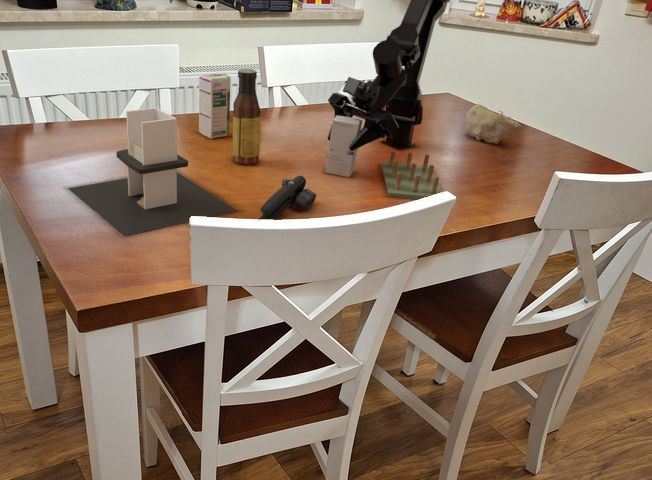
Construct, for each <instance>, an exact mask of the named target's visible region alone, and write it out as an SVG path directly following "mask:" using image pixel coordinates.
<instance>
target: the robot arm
mask: <svg viewBox="0 0 652 480" xmlns="http://www.w3.org/2000/svg"><path fill="white" fill-rule="evenodd" d="M450 2H451V0H410V2H409V4H408V7H407V9H406V11H405V13H404V15H403V18H402V20H401V23H400V24H399V26H397V27H395V28H394V29H392V30H391V32H390V34H389V35H387V37H386V39H385V40H381V41H379V42H378V43H377V44H376V45H375V46H374V47H373V49H372V58H373V64H374V70H375V75H376V76H375V78H374V79H373V80H370V79H369V80H367V81H366V82H364V81H362V80H361V79H358V78H354V77H351V76H348V77H347V80H346V82H345V84H344V86H343V89H342V92H343V93H347V94H349V95H350V96H351V100H350V98H349V97H348V96H347V95H345V94H342V93H339V92H333V93H332V94H331V95H330V96H329V98H328V99H327V102H328V103H329V105H330V106H331V108H332V109H333V110H334V115H333V116H334V117H333V119H334V118H335V117H336V116H337V115H339V116H344V117H351V118H354V117H357V118H359V119H361V120H364V122H363V127H361V131H360V132H359V134H358V135H357V136H356V138H355V139H354V140H353V142H352V143H351V145H350V147H349V149H350V151H353V150H355V149H357V150H358V149H360V148H361V147H363V146H366V145H368V144H369V143H372V142H374V141H377V140H379V139H381V142H382V144H385V145H388V146H390V147H392V148H394V149H398V150H402V149H407V148H413V147H416V144H415V143H414V142H412V141H413V135H414V130H415V126H418V125H419V126H420V125H422V122H423V115H424V107H423V101H422V97H423V93H422V90H421V86H420V80H421V76H422V73H423V69H424V66H425V62H426V58H427V54H428V51H429V47H430V43H431V40H432V36H433V32H434V28H435V25H436V22H437V20H439V18H440V17H441V16H442V15H443V14H444V13H445V12H446V9H447V5H448V3H450ZM351 101H352V102H353V103H355V104H353V103H352V102H351ZM384 109H385V110H384ZM331 130H332V125H331V127H330V130H329V132H328V135H327V140H328V142H330V137H331Z"/></svg>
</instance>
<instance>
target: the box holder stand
mask: <svg viewBox="0 0 652 480" xmlns="http://www.w3.org/2000/svg"><path fill="white" fill-rule="evenodd" d="M125 117H126V134H127V135H126V137H127V149H121V150H117V151H116V158H117V159H119V161H121V162H122V163H123V164H124V165H125V166H126V168H127V169H126V170H127V177H125V178H119V179H112V180H107V181H101V182H97V183H95V182H94V183H90V184H84V185H78V186H72V187H67V189H68V190H69V191H70V192H71V193H73V194H74V195H76V196H77V198H79V199H80V200H81V201H82V202H84V203H85V204H86V205H87V206H89V207H90V208H91V209H92V210H93V211H95V212H96V213H97V214H98V215H99V216H100V217H102V218H103V219H104V220H105V221H106V222H107V223H109V224H110V226H112V227H114V229H116V230H117V231H118V232H120V233H121V234H122V235H123V236H125V237H127V236H131V235H132V236H133V235H137V234H140V233H145V232H149V231H154V230H158V229H163V228H168V227H173V226H176V225H177V226H178V225H181V224H185V223H190V222H189V218H190V217H191V216H207V217H209V218H213V217H217V216H221V215H225V214H231V213H235V212H239V210H238V209H236V208H234V207H233V206H231V204H228V203H227V202H225V201H224V200H222V199H220V198H218V197H217V196H216V195H214V194H213V193H211V192H209V191H208V190H206V189H205V188H203V187H202V186H200V185H198V184H197V183H195V182H194V181H191V180H190V179H189V178H187V177H186V176H184V175H183V174H181V173H179V172H178V171H177V169H181V168H182V169H183V168H187V167H189V160H187V159H186V158H185V157H183V156H181V155H179V154H178V118H176V117H175V116H173V115H171V114H169V113H167V112H165V111H163V110H161V109H160V108H157V107H151V108H150V107H149V108H141V109H132V110H126V111H125Z"/></svg>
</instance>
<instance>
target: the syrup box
mask: <svg viewBox="0 0 652 480" xmlns="http://www.w3.org/2000/svg"><path fill="white" fill-rule="evenodd" d="M231 82H232V80H231V76H229V75H227V74H226V73H223V72H219V71H215V72H209V73H208V72H207V73H199V74H198V132H199V133H200V134H201V135H202V136H204V137H206V138H208V139H216V138H223V137H224V138H225V137H230V126H231V125H230V124H231V123H230V121H231Z"/></svg>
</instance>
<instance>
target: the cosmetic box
mask: <svg viewBox="0 0 652 480" xmlns="http://www.w3.org/2000/svg"><path fill="white" fill-rule="evenodd" d="M362 124H363V119H361V118H354V117H352V118H351V117H344V116H339V115H337V116H336V117H335V118H334V117H333V119H332V124H331V126H332V130H331V137H330V141H329V144H328V149H327V150H328V151H327V158H326V163H325V171H324V172H325V173H326V174H331V175H336V176H341V177H346V178H350V177H351V176H352V175H353V173H354V171H355V166H356V160H357V153H358V148H357V149H355V150H353V151H350V149H349V147H350V145H351V143H352V142H353V140H354V139H355V138H356V136H357V135H358V134H359V132H360V131H361V130H362Z"/></svg>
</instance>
